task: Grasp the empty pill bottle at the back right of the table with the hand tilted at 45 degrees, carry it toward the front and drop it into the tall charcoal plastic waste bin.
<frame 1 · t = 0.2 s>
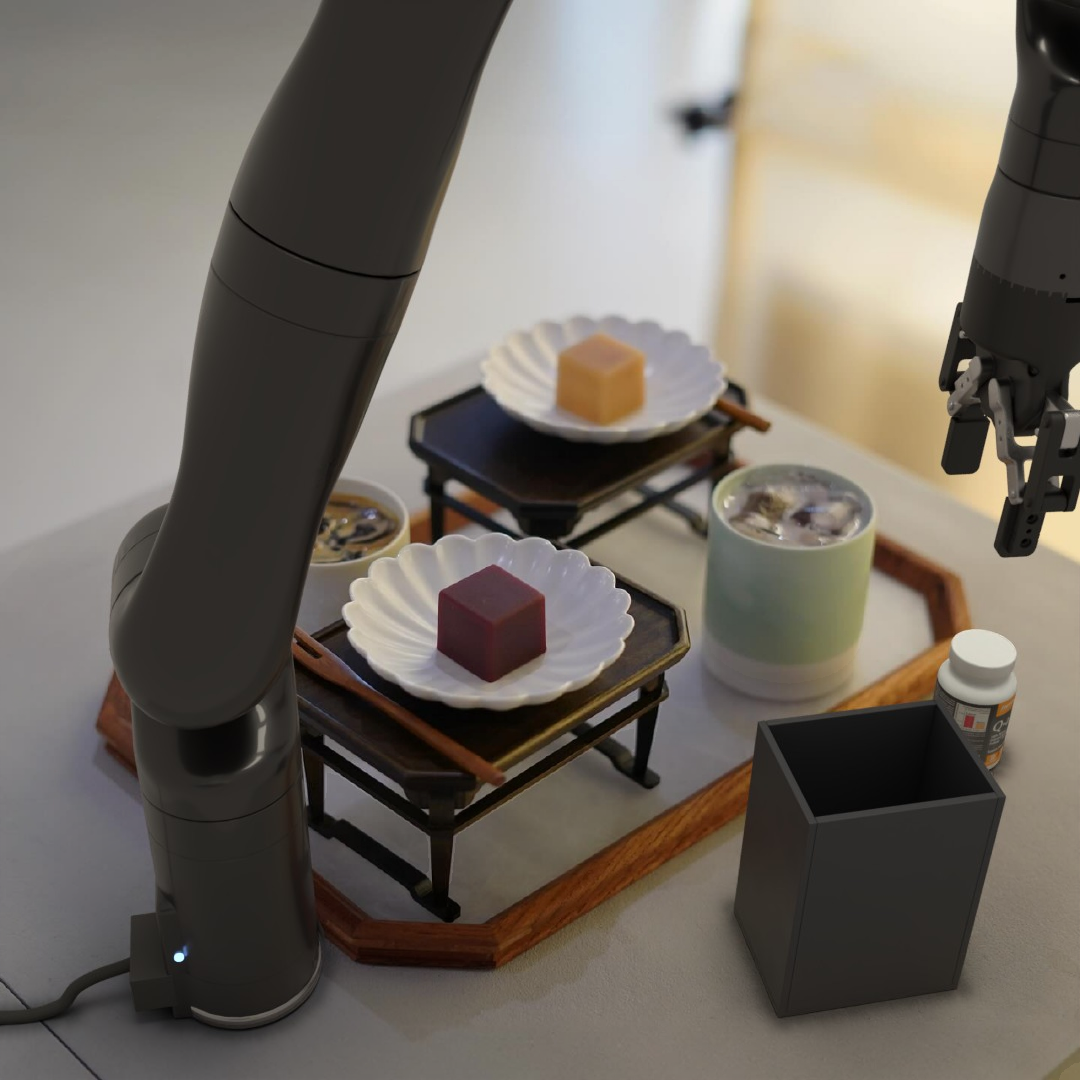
hand: (984, 511, 89), 29 cm above the table, tool pointing down, fingers open, 8 cm apart
waste bin: (842, 948, 99), on the table
pill bottle: (960, 753, 115), on the table
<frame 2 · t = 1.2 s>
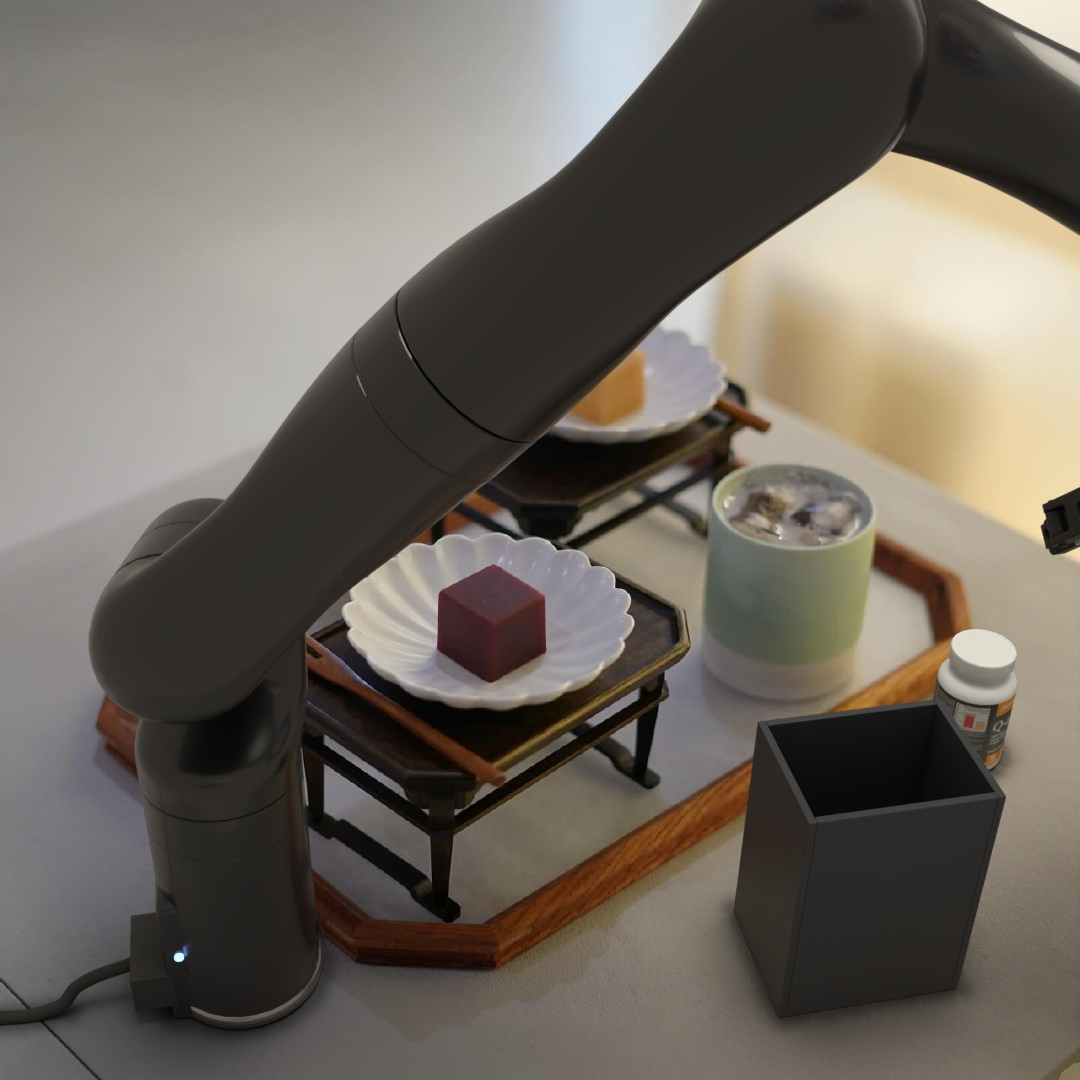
nothing on the table moved.
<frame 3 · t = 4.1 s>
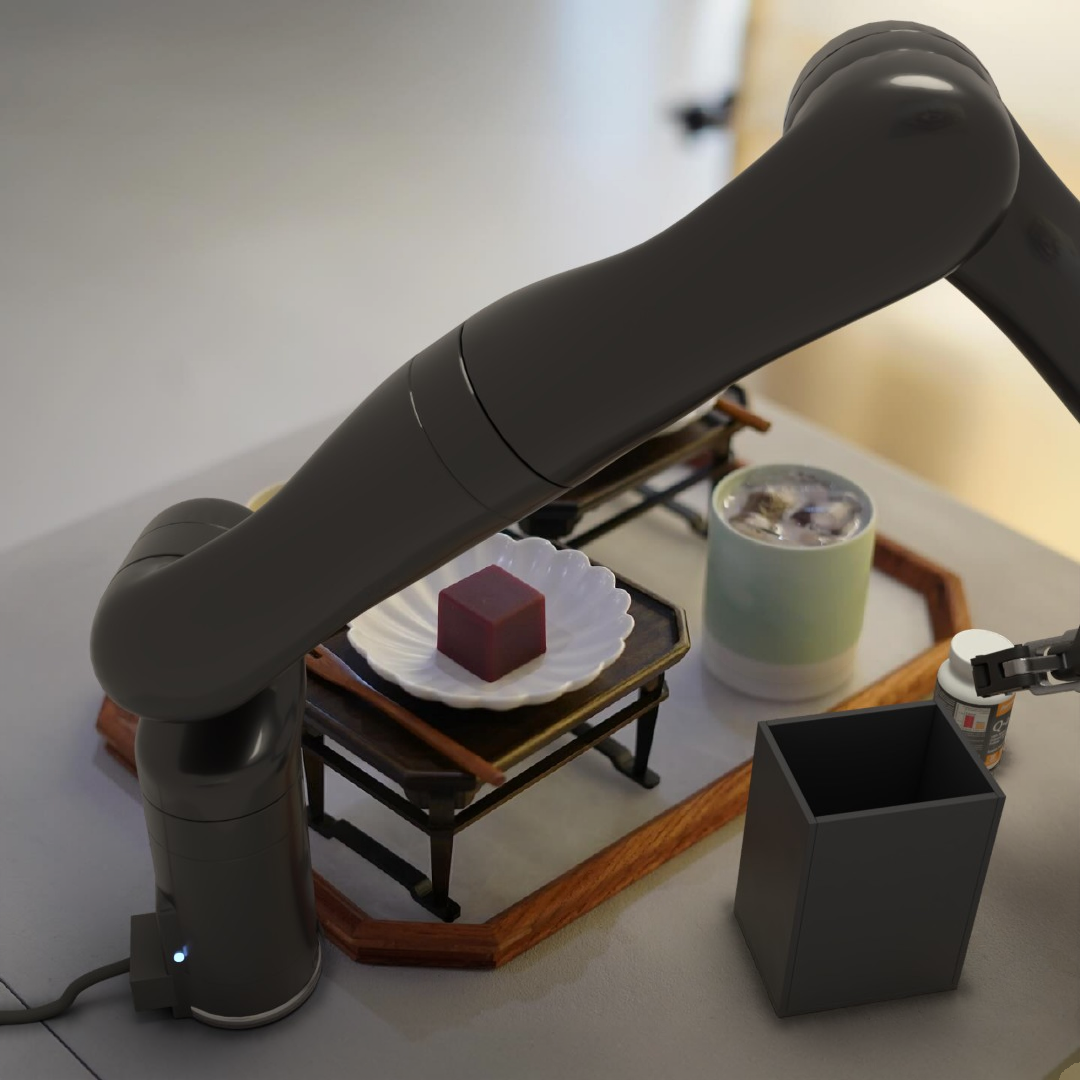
hand: (1040, 674, 102), 13 cm above the table, tool tilted 45°, fingers open, 8 cm apart
nothing on the table moved.
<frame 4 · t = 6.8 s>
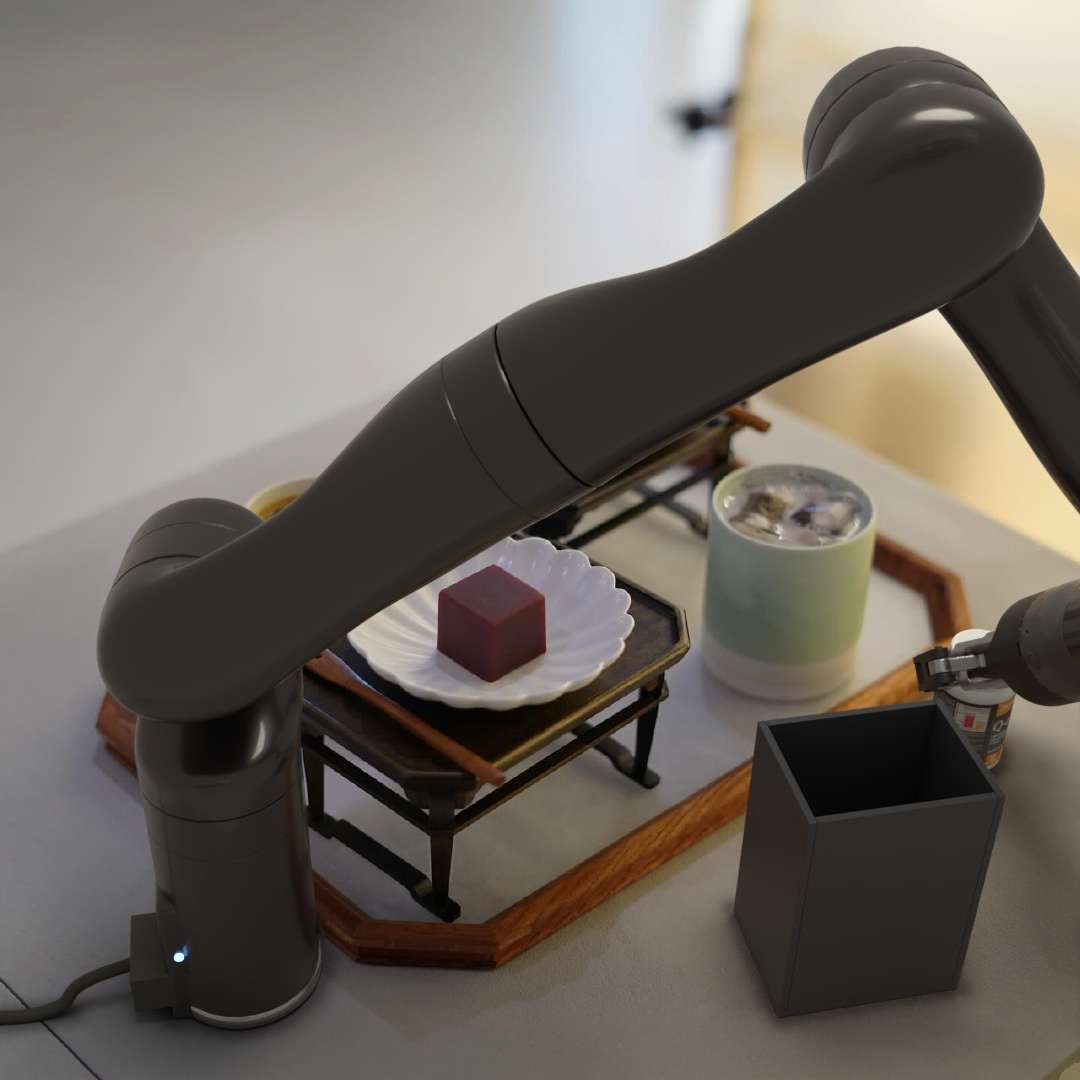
hand: (965, 672, 113), 6 cm above the table, tool tilted 45°, fingers closed on pill bottle, 5 cm apart
pill bottle: (960, 753, 115), on the table, touching gripper
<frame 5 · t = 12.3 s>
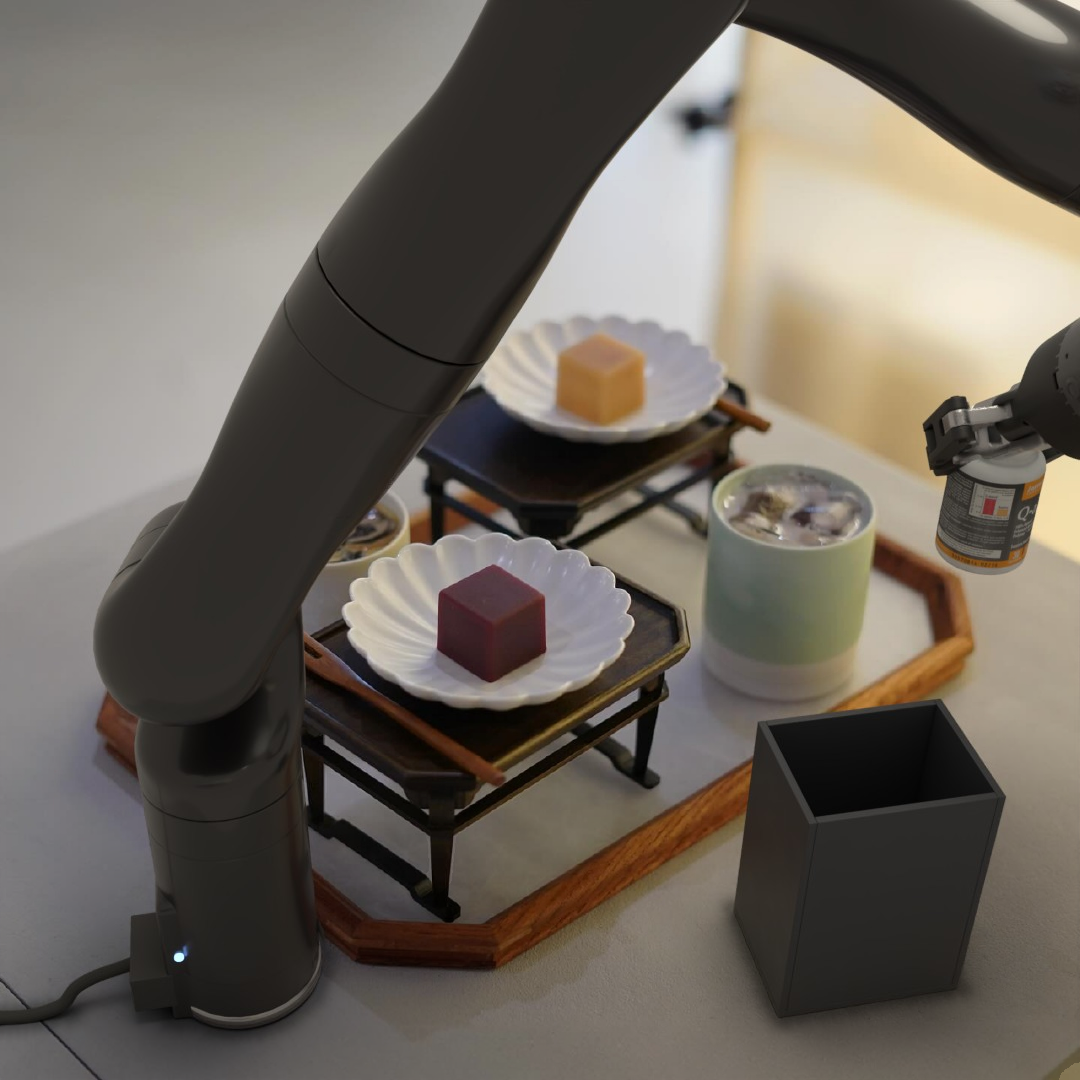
hand: (983, 456, 95), 29 cm above the table, tool tilted 45°, fingers closed on pill bottle, 5 cm apart
pill bottle: (977, 556, 97), point 22 cm above the table, touching gripper
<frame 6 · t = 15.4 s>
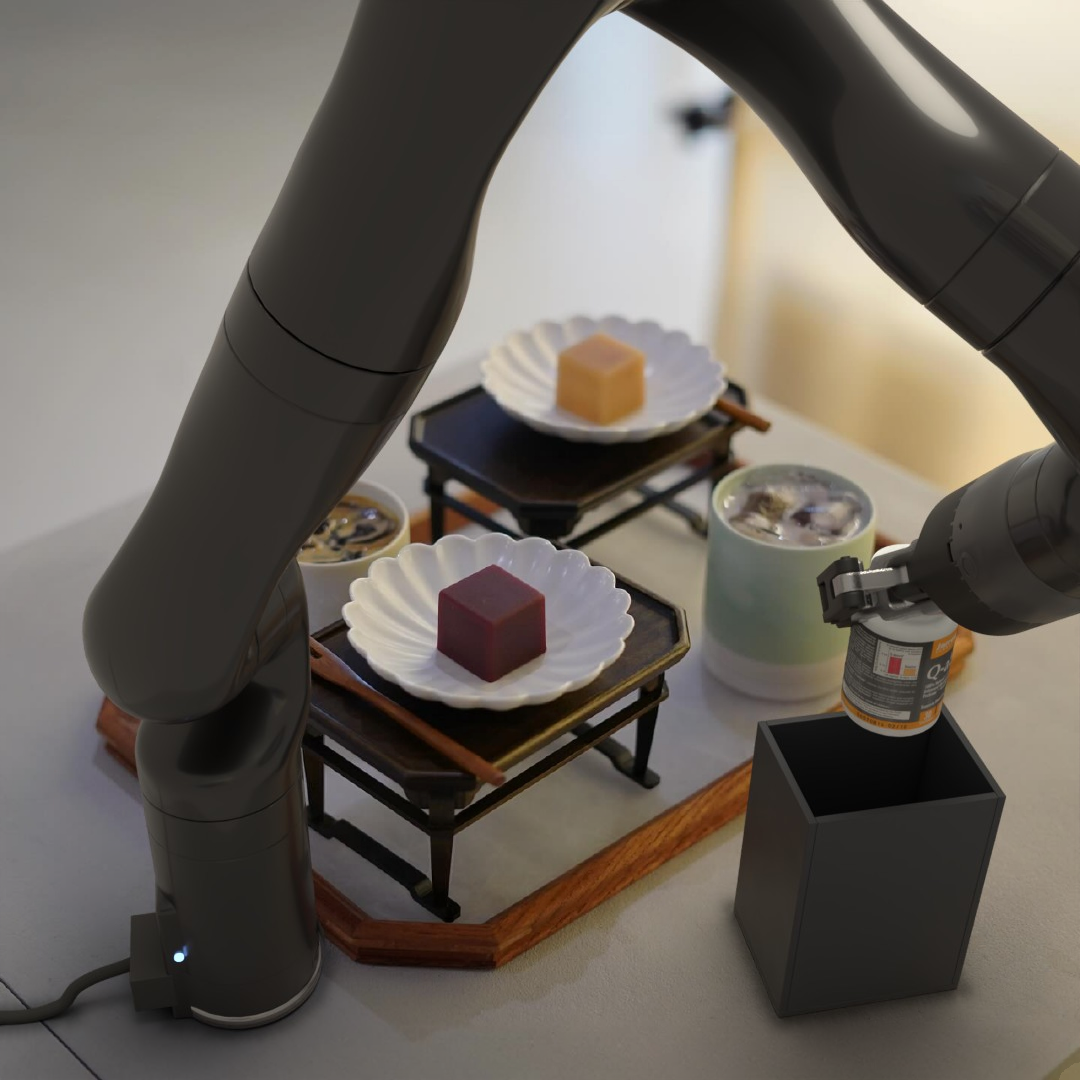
hand: (892, 603, 86), 27 cm above the table, tool tilted 45°, fingers closed on pill bottle, 5 cm apart
pill bottle: (888, 711, 88), point 20 cm above the table, touching gripper
when the fingers open (20 cm above the table, at t = 17.9 s): pill bottle drops 13 cm, resting on waste bin.
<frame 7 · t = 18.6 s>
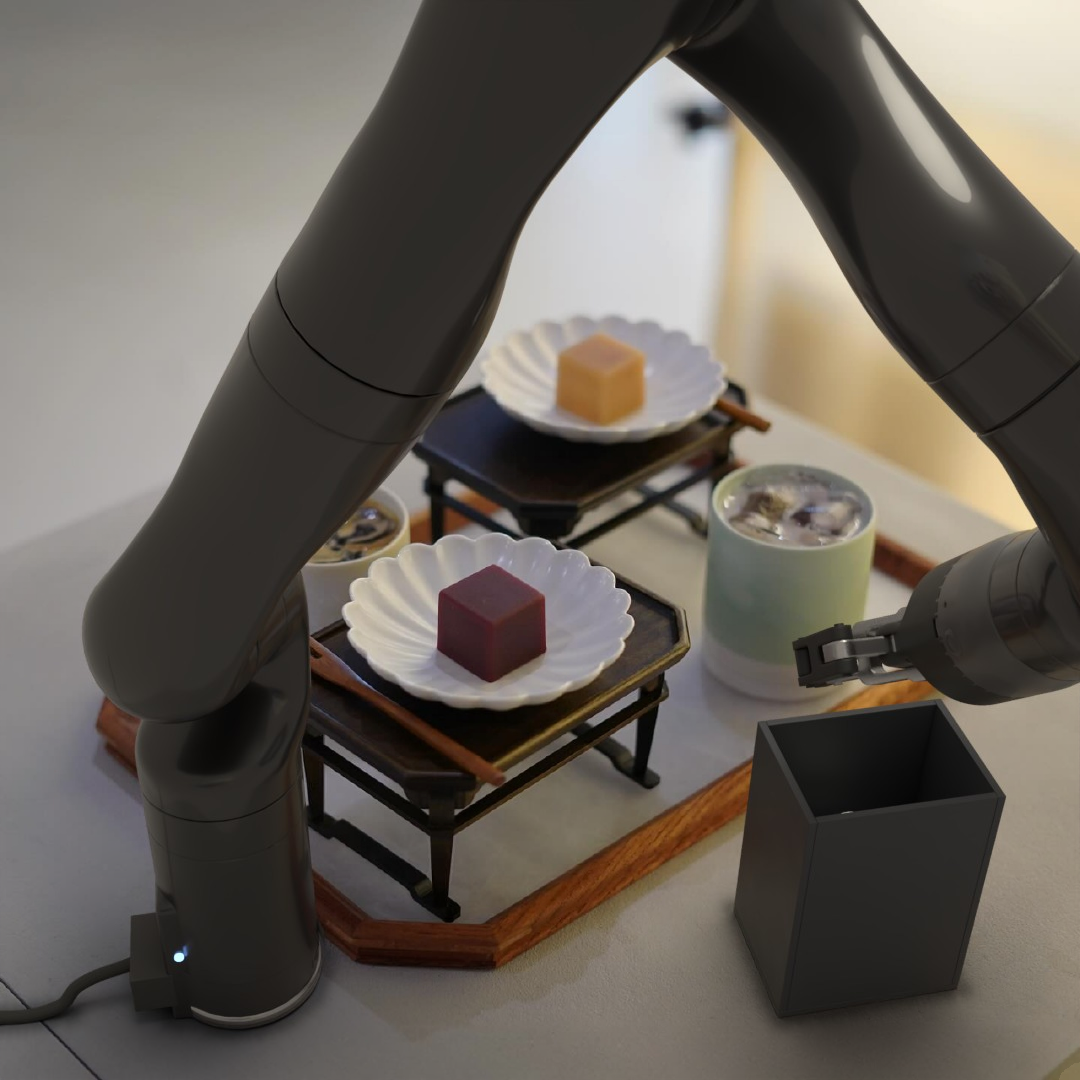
hand: (884, 660, 87), 23 cm above the table, tool tilted 45°, fingers open, 8 cm apart
pill bottle: (837, 946, 98), resting on waste bin
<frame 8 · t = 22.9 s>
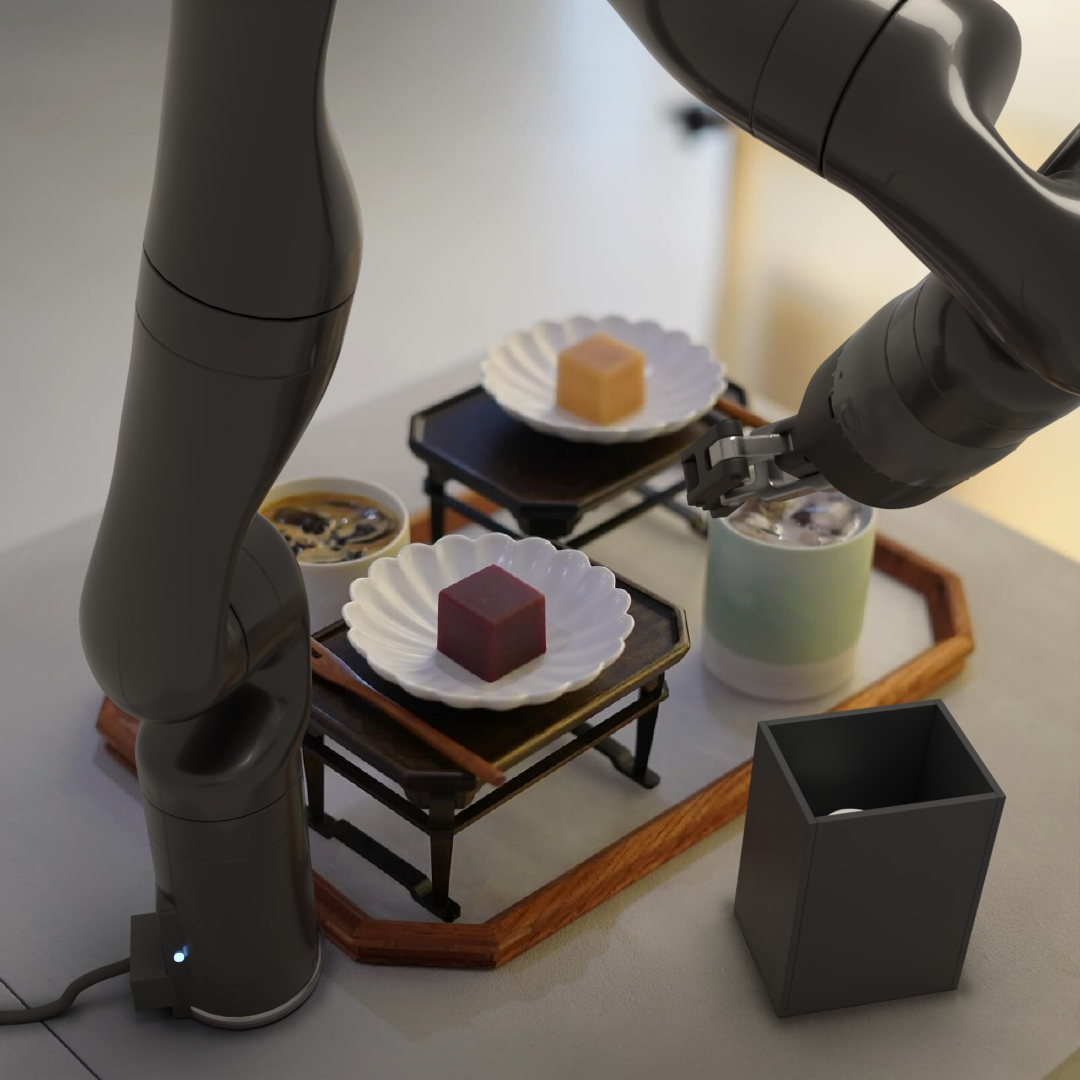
hand: (795, 490, 76), 37 cm above the table, tool tilted 45°, fingers open, 8 cm apart
nothing on the table moved.
at the end: pill bottle inside the target area in the waste bin (0.5 cm from its centre), point 0.3 cm above the waste bin's base; the gripper is holding nothing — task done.
